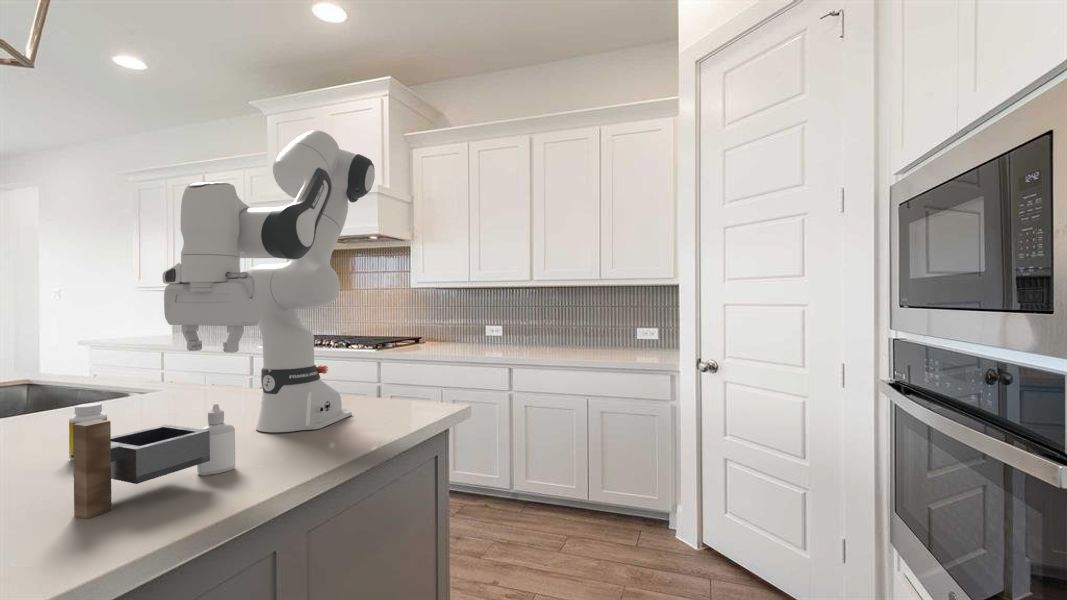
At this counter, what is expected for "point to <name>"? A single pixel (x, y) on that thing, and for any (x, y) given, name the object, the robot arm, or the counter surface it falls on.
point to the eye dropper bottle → (219, 444)
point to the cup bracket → (128, 459)
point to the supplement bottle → (84, 419)
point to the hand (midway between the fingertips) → (212, 351)
